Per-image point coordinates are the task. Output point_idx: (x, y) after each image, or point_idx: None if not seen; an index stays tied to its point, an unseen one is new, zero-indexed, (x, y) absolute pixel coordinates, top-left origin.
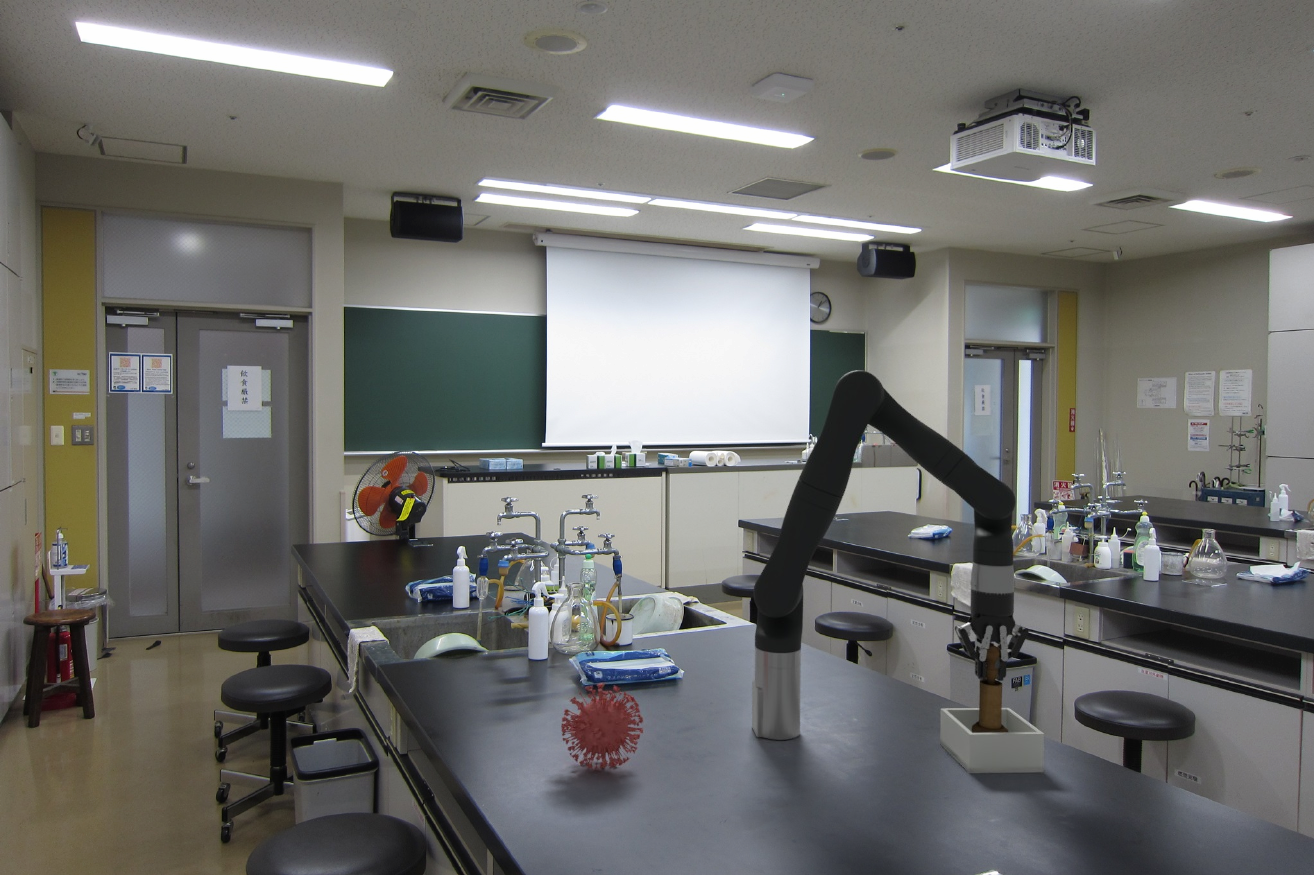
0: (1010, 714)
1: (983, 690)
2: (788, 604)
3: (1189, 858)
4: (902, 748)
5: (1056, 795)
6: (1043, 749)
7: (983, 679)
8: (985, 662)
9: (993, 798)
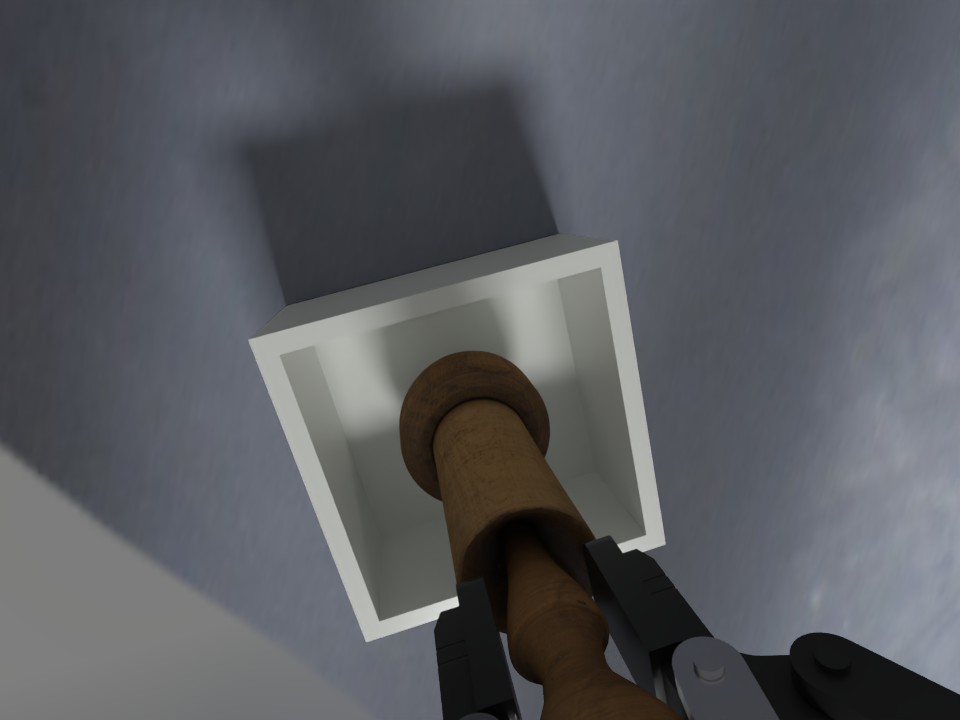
0: (368, 585)
1: (572, 502)
2: None
3: None
4: (730, 403)
5: (269, 85)
6: (268, 322)
7: (603, 540)
8: (654, 644)
9: (517, 8)
